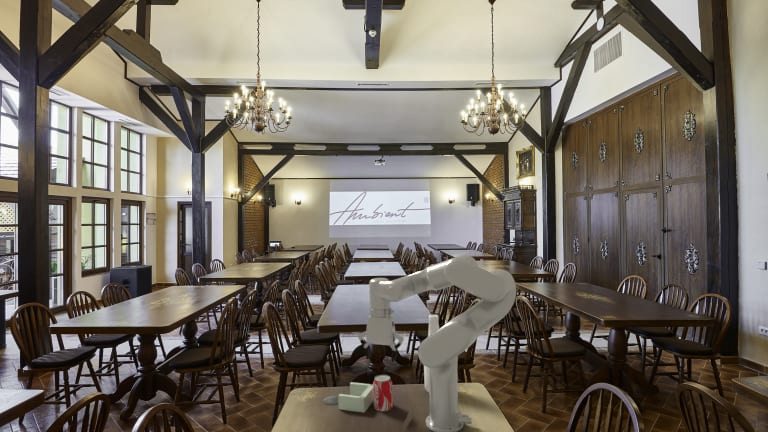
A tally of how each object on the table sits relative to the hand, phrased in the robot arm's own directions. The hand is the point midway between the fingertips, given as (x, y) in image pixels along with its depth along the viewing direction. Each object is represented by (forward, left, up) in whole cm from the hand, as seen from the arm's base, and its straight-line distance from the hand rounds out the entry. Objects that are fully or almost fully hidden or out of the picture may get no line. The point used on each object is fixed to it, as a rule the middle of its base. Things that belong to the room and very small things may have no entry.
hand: (381, 359), depth 149 cm
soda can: (0, 0, -19) cm, 19 cm away
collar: (+10, 0, -17) cm, 20 cm away
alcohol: (-15, -22, -19) cm, 33 cm away
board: (+16, 0, -19) cm, 25 cm away
